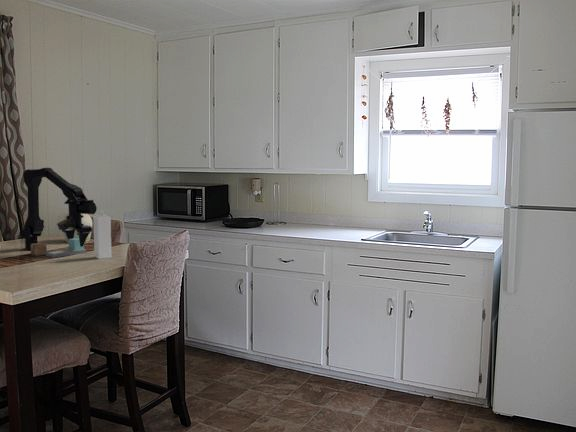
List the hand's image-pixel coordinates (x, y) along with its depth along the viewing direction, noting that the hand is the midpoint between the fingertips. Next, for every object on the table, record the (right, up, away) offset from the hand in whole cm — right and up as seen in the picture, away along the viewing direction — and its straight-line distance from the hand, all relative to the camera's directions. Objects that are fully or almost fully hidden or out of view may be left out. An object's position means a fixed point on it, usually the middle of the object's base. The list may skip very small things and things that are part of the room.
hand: (76, 245), depth 276 cm
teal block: (0, -2, 0) cm, 2 cm away
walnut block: (-16, -4, -4) cm, 17 cm away
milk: (+17, -5, -11) cm, 20 cm away
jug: (-12, 0, +34) cm, 36 cm away
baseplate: (-3, -4, -4) cm, 6 cm away
